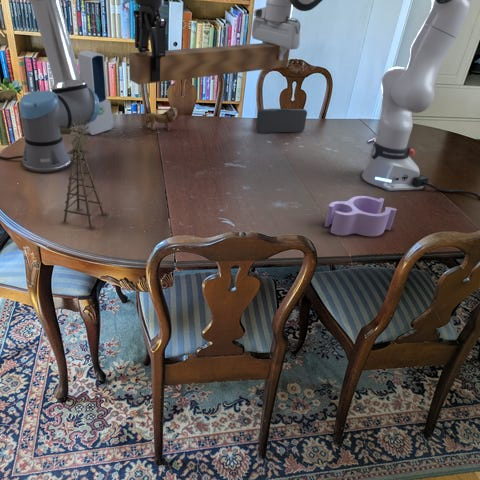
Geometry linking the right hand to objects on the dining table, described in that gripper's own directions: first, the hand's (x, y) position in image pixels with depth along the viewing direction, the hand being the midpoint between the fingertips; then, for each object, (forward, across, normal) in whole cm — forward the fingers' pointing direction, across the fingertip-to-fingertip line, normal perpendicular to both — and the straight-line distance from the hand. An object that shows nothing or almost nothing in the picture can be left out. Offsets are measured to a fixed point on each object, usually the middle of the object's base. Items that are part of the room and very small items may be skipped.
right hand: (272, 57), depth 163 cm
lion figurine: (+37, +43, +18) cm, 59 cm away
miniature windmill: (+37, -8, +77) cm, 86 cm away
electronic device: (+36, +54, +42) cm, 77 cm away
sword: (+37, -14, -68) cm, 79 cm away
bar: (+3, 0, +25) cm, 25 cm away
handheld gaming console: (+37, +16, -27) cm, 48 cm away
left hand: (+2, +1, +50) cm, 50 cm away
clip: (+37, -55, +12) cm, 68 cm away
